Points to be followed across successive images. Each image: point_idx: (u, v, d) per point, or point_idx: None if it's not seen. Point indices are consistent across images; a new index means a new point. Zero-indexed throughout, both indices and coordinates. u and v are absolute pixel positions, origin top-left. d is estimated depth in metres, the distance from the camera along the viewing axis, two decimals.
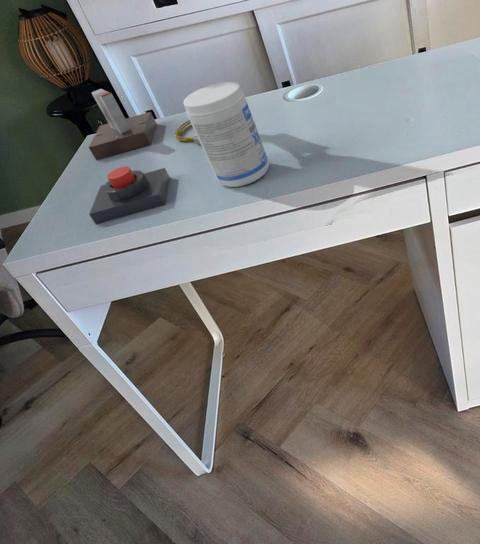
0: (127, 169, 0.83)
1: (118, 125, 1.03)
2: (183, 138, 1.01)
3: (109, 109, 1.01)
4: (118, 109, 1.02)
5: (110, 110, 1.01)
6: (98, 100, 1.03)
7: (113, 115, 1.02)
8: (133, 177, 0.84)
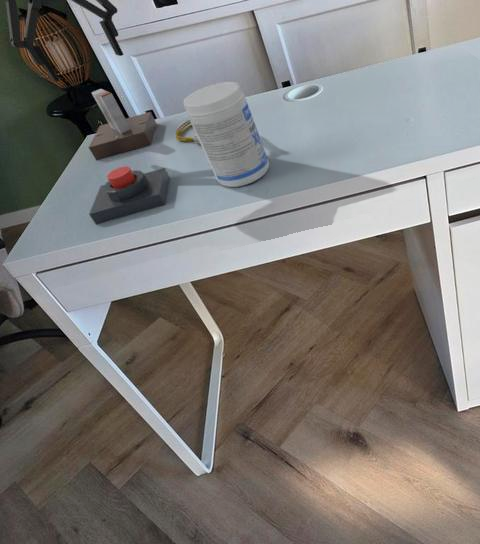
0: (127, 169, 0.83)
1: (118, 125, 1.03)
2: (183, 138, 1.01)
3: (109, 109, 1.01)
4: (118, 109, 1.02)
5: (110, 110, 1.01)
6: (98, 100, 1.03)
7: (113, 115, 1.02)
8: (133, 177, 0.84)
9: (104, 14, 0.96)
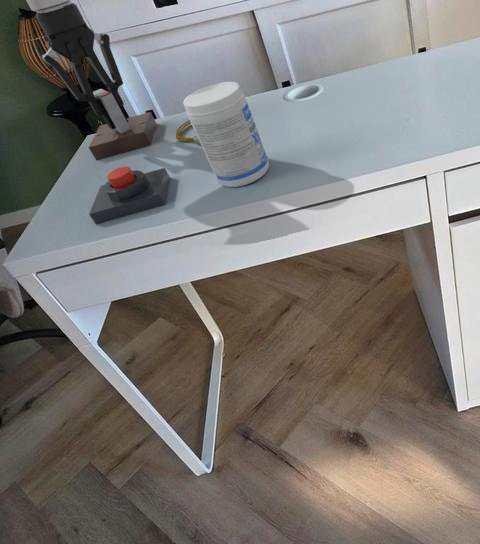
0: (127, 169, 0.83)
1: (118, 125, 1.03)
2: (183, 138, 1.01)
3: (109, 109, 1.01)
4: (118, 109, 1.02)
5: (110, 110, 1.01)
6: None
7: (113, 115, 1.02)
8: (133, 177, 0.84)
9: (112, 86, 1.02)
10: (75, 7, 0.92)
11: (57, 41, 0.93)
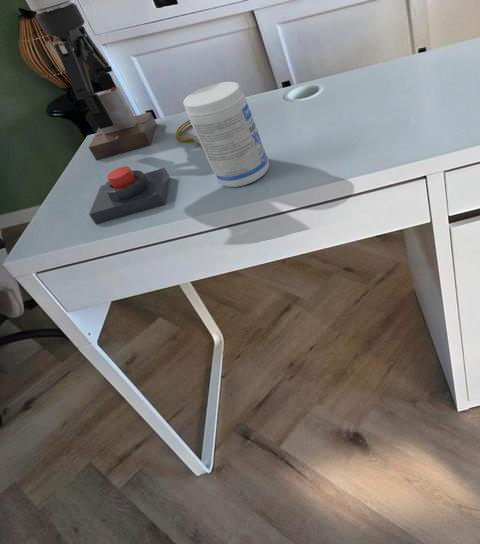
0: (127, 169, 0.83)
1: (131, 117, 1.05)
2: (183, 138, 1.01)
3: (123, 102, 1.03)
4: (126, 102, 1.05)
5: (123, 103, 1.03)
6: None
7: (126, 108, 1.04)
8: (133, 177, 0.84)
9: (105, 67, 1.06)
10: None
11: (71, 37, 0.93)
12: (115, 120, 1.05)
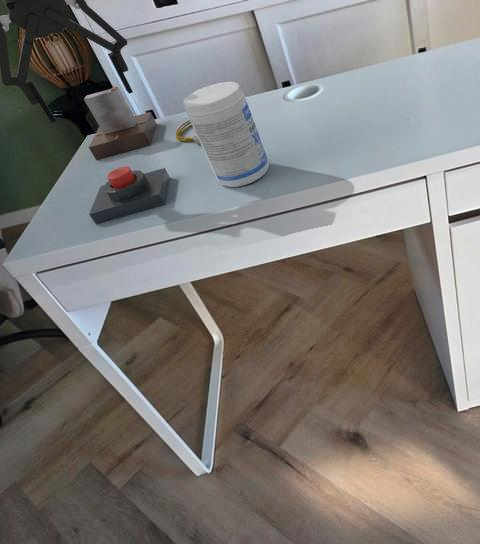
0: (127, 169, 0.83)
1: (131, 117, 1.05)
2: (183, 138, 1.01)
3: (123, 102, 1.03)
4: (126, 102, 1.05)
5: (123, 103, 1.03)
6: (100, 101, 1.02)
7: (126, 108, 1.04)
8: (133, 177, 0.84)
9: (111, 47, 0.83)
10: None
11: (17, 12, 0.74)
12: (115, 120, 1.05)
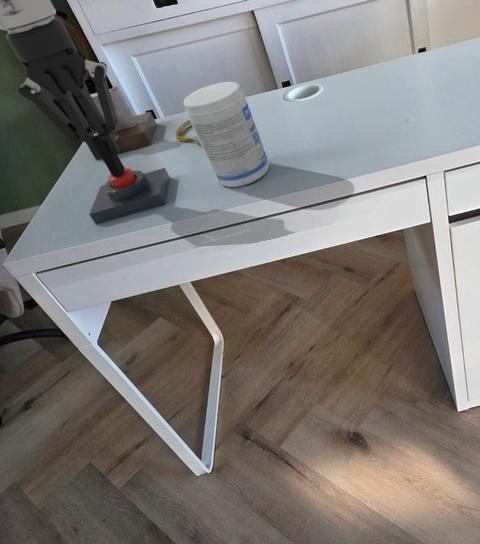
0: (128, 170, 0.83)
1: (131, 117, 1.05)
2: (183, 138, 1.01)
3: (123, 102, 1.03)
4: (126, 102, 1.05)
5: (123, 103, 1.03)
6: None
7: (126, 108, 1.04)
8: (134, 178, 0.84)
9: (100, 130, 0.77)
10: (51, 28, 0.67)
11: (32, 69, 0.70)
12: None
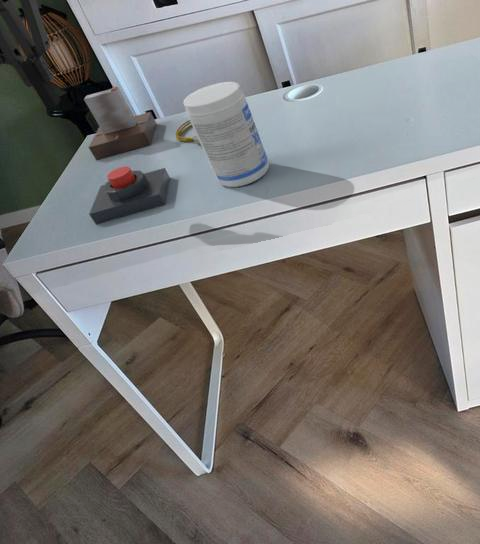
0: (127, 169, 0.83)
1: (131, 117, 1.05)
2: (183, 138, 1.01)
3: (123, 102, 1.03)
4: (126, 102, 1.05)
5: (123, 103, 1.03)
6: (100, 101, 1.02)
7: (126, 108, 1.04)
8: (133, 177, 0.84)
9: (28, 52, 0.70)
10: None
11: None
12: (115, 120, 1.05)
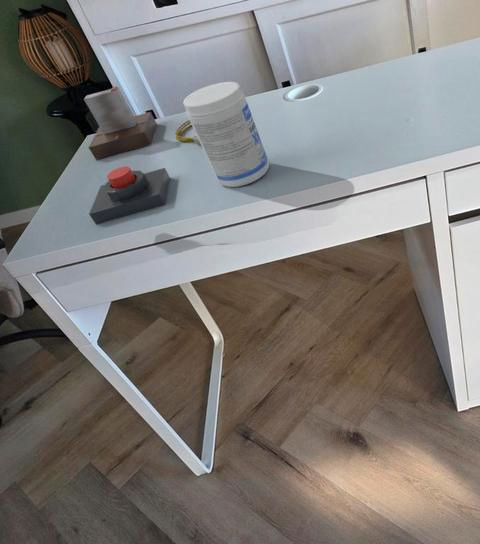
0: (127, 169, 0.83)
1: (131, 117, 1.05)
2: (183, 138, 1.01)
3: (123, 102, 1.03)
4: (126, 102, 1.05)
5: (123, 103, 1.03)
6: (100, 101, 1.02)
7: (126, 108, 1.04)
8: (133, 177, 0.84)
9: None
10: None
11: None
12: (115, 120, 1.05)
